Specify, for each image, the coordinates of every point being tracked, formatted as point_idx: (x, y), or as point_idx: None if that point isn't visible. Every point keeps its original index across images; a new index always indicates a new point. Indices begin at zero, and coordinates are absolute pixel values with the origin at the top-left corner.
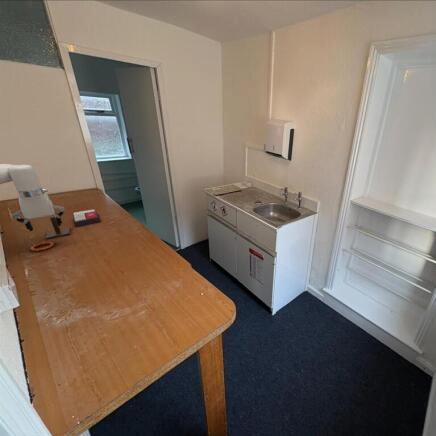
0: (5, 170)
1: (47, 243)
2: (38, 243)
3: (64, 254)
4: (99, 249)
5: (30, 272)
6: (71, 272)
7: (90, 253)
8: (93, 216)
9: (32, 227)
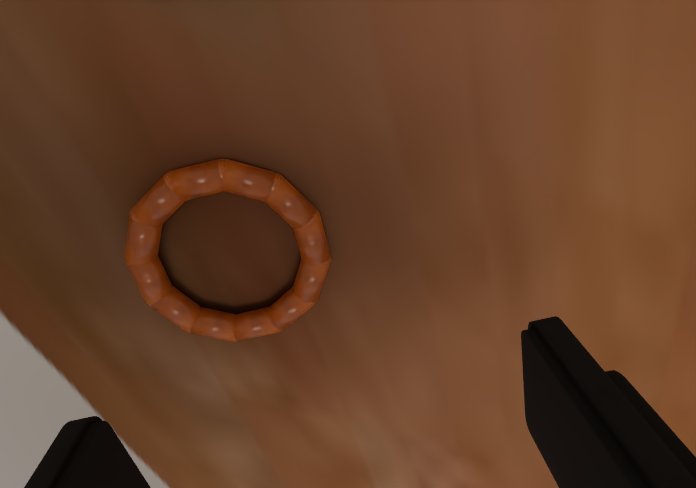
0: None
1: (249, 197)
2: (158, 198)
3: (454, 430)
4: (674, 425)
5: None
6: None
7: None
8: None
9: (94, 451)
